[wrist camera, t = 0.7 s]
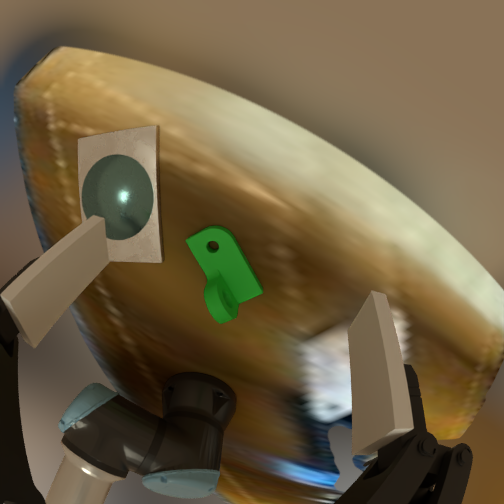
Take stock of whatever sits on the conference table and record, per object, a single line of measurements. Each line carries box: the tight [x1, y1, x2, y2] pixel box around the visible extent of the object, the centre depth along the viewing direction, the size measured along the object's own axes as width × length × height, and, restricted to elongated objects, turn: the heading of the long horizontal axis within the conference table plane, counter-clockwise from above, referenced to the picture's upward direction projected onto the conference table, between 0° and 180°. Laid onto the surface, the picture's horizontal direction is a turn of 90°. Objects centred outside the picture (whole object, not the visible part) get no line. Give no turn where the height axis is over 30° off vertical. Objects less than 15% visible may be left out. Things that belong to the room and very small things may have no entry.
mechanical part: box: [186, 226, 263, 324], centre depth 37 cm, size 12×6×8 cm, turn 28°
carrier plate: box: [78, 126, 164, 263], centre depth 37 cm, size 20×14×1 cm
